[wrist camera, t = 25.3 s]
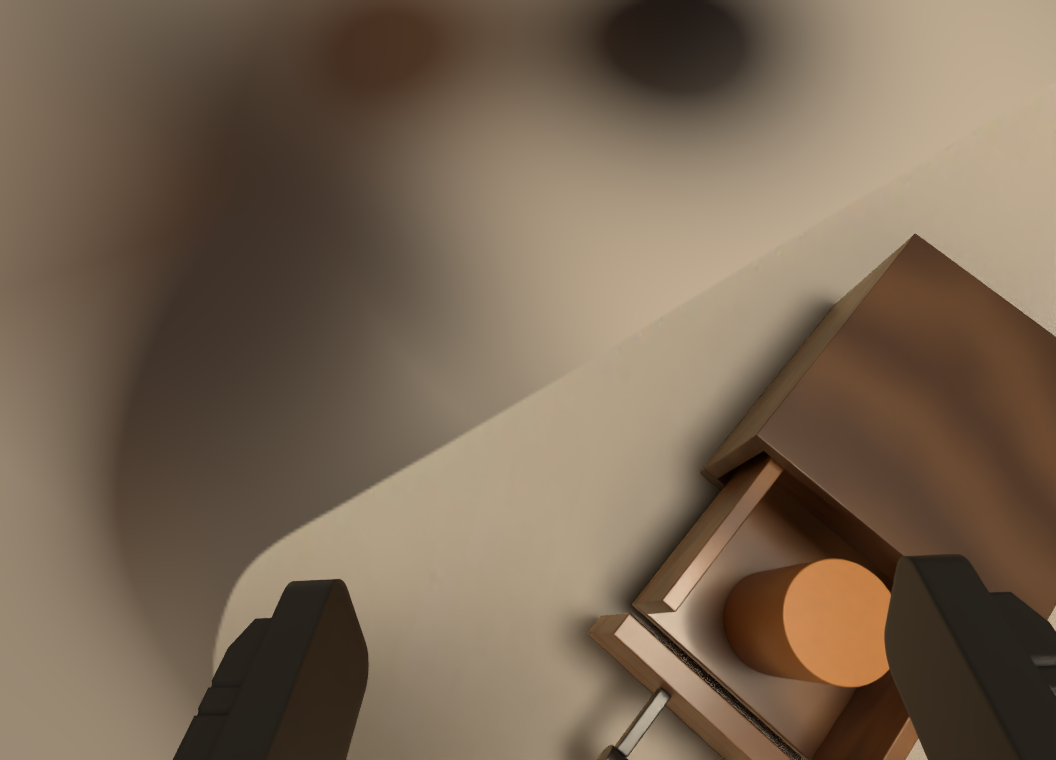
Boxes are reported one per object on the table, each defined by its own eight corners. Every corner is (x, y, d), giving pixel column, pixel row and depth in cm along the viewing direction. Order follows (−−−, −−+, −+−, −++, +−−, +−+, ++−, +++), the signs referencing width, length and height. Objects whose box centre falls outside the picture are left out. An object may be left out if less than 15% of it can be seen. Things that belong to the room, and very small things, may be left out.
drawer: (742, 911, 35) (806, 977, 28) (528, 707, 37) (541, 724, 30) (934, 609, 40) (1024, 605, 34) (736, 445, 42) (786, 412, 36)
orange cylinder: (737, 684, 37) (801, 697, 30) (713, 579, 39) (769, 567, 31) (833, 667, 38) (918, 676, 31) (806, 564, 39) (881, 550, 32)
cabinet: (911, 651, 40) (1026, 657, 32) (699, 472, 43) (756, 434, 34) (1034, 456, 45) (1164, 416, 36) (835, 303, 47) (915, 233, 39)
